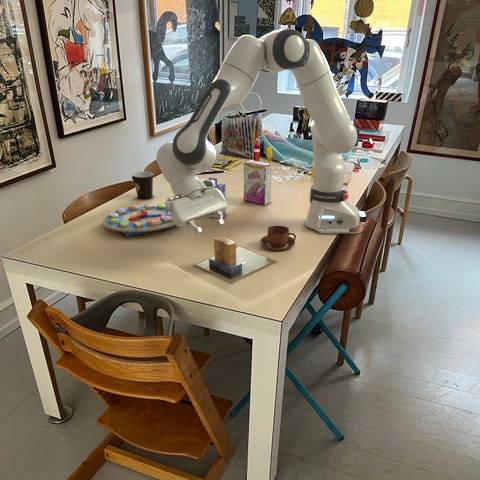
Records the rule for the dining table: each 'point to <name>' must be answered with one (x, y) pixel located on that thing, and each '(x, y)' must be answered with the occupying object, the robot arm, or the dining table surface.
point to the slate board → (243, 256)
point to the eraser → (225, 255)
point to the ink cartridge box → (223, 191)
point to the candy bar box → (257, 182)
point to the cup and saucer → (278, 238)
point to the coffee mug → (143, 184)
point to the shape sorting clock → (139, 219)
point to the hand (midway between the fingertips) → (211, 229)
